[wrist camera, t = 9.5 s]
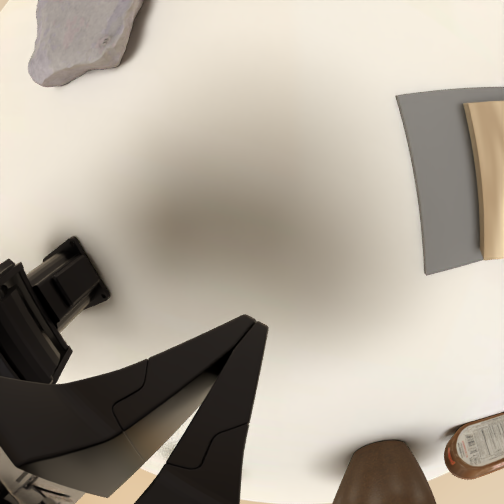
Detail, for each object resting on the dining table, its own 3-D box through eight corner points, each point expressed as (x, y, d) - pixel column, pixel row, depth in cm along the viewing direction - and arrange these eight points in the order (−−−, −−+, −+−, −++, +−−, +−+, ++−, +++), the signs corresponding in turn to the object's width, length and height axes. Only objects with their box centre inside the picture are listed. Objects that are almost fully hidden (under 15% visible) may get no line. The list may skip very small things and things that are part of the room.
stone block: (170, -51, 12) (65, -22, 12) (155, -77, 8) (37, -36, 8) (158, 69, 18) (52, 90, 17) (135, 60, 14) (17, 92, 13)
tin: (438, 437, 26) (447, 489, 19) (446, 424, 25) (458, 479, 17) (518, 413, 23) (532, 455, 16) (527, 400, 22) (544, 443, 14)
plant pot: (353, 479, 33) (348, 564, 19) (301, 450, 30) (283, 561, 16) (442, 447, 27) (454, 540, 13) (413, 409, 24) (429, 542, 10)
